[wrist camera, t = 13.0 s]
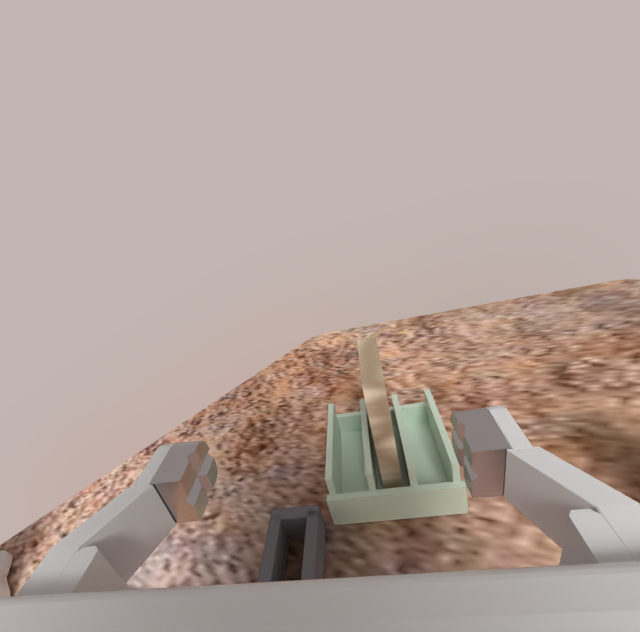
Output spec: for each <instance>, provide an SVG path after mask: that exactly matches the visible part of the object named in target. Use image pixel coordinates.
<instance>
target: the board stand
mask: <svg viewBox="0 0 640 632" xmlns="http://www.w3.org/2000/svg"><path fill="white" fill-rule="evenodd" d="M325 538H326V525H325V522H324V519H323V516H322V513H321V510H320V507H319V505H313V506H303V507H293V508H283V509H273V510H272V512H271V517H270V522H269V528H268V533H267V538H266V543H265V548H264V553H263V558H262V563H261V568H260V573H259V578H258V583H259V582H277V581H284V577H285V570H286V563H287V555H288V548H289V540H298V539H305V543H304V553H303V564H302V574H301V580H312V579H324V564H325Z"/></svg>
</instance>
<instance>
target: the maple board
mask: <svg viewBox="0 0 640 632" xmlns="http://www.w3.org/2000/svg"><path fill="white" fill-rule="evenodd" d="M357 343H358V354H359V364H360V375H361V384H362V389H363V393H364V398H365V403H366V407H367V412H368V417H369V421H370V426H371V431H372V435H373V440H374V445H375V449H376V454H377V459H378V463H379V468H380V473H381V477H382V482H383V487H384V489H387V488H397V487H403V482H402V477H401V471H400V465H399V460H398V454H397V449H396V443H395V438H394V432H393V426H392V421H391V415H390V410H389V404H388V399H387V393H386V387H385V382H384V377H383V372H382V367H381V362H380V357H379V352H378V347H377V342H376V337H372V338H366V339H361V340H357Z"/></svg>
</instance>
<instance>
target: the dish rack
mask: <svg viewBox="0 0 640 632" xmlns="http://www.w3.org/2000/svg"><path fill="white" fill-rule="evenodd" d="M424 394H425V402H421V403H414V404H407V405H399V401H398V397H397V394H393V395H391V396H392V402H393V406H392V407H389V410H390V415H391V421H392V426H393V432H394V438H395V443H396V449H397V454H398V460H399V465H400V471H401V477H402V482H403V487H397V488H387V489H384V487H383V482H382V477H381V473H380V468H379V463H378V459H377V454H376V449H375V445H374V440H373V435H372V431H371V426H370V421H369V417H368V412H367V407H366V403H365V399H359V400H360V411H357V412H350V413H343V414H336V410H335V406H334V403H331V404H329V405H328V425H327V446H326V466H325V481H326V485H327V488H328V491H329V494H330V495H327V504H328V507H329V510H330V513H331V517H332V520H333V523H334V525H344V524H355V523H366V522H377V521H388V520H399V519H410V518H421V517H432V516H443V515H454V514H465V513H468V502H467V487H466V484H465V482H464V481H461V478H460V465H459V463H458V461H457V458H456V455H455V452H454V449H453V447H452V444H451V442H450V439H449V437H448V434H447V432H446V429H445V427H444V424H443V422H442V419H441V417H440V414H439V412H438V409H437V407H436V404H435V402H434V399H433V397H432V394H431V392H430V389H427V390H424Z"/></svg>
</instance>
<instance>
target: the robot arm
mask: <svg viewBox="0 0 640 632" xmlns="http://www.w3.org/2000/svg"><path fill="white" fill-rule="evenodd" d="M451 422H452V425H453V427H454V430H453V431H452V443H453V448H454V452H455V455H456V458H457V461H458V463H459V465H461V466H462V467H463V468H464V478H465V481H466V483H467V486H468V488H469V490H470V493H471V495H472V498H475V497H493V496H504V498H505V499H506V500H507V501H508V502H510V503H511V504H512V505H513V506H514V507H515V508H516V509H518V510H519V511H520V512H521V513H522V514H523V515H524V516H525V517H527V518H528V519H529V520H530V521H531V522H532V523H533V524H535V525H536V526H537V527H538V528H539V529H540V530H541V531H542V532H544V533H545V534H546V535H547V536H548V537H549V538H550V539H552V540H553V541H554V542H555V543H556V544H557V545H558V546H559V547H561V548H562V554H561V559H560V564H559V566H541V567H523V568H505V569H488V570H470V571H452V572H435V573H417V574H400V575H382V576H365V577H347V578H330V579H312V580H294V581H277V582H259V583H241V584H223V585H206V586H188V587H170V588H152V589H134V590H131V589H130V587H129V586H128V585H127V584H126V582H127V581H128V580H129V579H130V577H131V576H132V575H133V574H134V573H135V572H136V571H137V569H138V568H139V567H140V566H141V565H142V564H143V562H144V561H145V560H146V559H147V558H148V557H149V555H150V554H151V553H152V552H153V551H154V550H155V549H156V547H157V546H158V545H159V544H160V543H161V542H162V540H163V539H164V538H165V537H166V536H167V535H168V533H169V532H170V531H171V530H172V529H173V528H174V527H175V525H176V523H180V522H189V521H198V520H201V519H202V516H203V514H204V511H205V508H206V506H207V503H208V497H207V493H208V492H209V491H210V490H211V489H212V488H213V487H214V484H215V482H216V476H217V467H216V463H215V460H214V458H213V457H211V456H210V455H208V454H207V453H208V450H209V447H208V446H207V444H206V442H205V441H195V442H184V443H175V444H164V445H161V446H159V447H158V448H157V449H156V451H155V453H154V454H153V456H152V457H151V459H150V461H149V462H148V464H147V465H146V467H145V469H144V470H143V472H142V473H141V475H140V476H139V478H138V480H137V481H136V483H135V484H134V486H133V487H128V488H127V489H126V490H124V491H123V492H122V493H121V494H119V495H118V496H117V497H116V498H114V499H113V500H112V501H110V502H109V503H108V504H107V505H105V506H104V507H103V508H102V509H100V510H99V511H98V512H97V513H95V514H94V515H93V516H91V517H90V518H89V519H88V520H86V521H85V522H84V523H83V524H81V525H80V526H79V527H77V528H76V529H75V530H74V531H72V532H71V533H70V534H69V535H67V536H66V537H65V538H63V539H62V540H61V541H60V542H58V543H57V544H56V545H55V546H53V547H52V548H51V549H50V551H49V552H48V553H47V555H46V556H45V557H44V559H43V560H42V561H41V563H40V564H39V566H38V567H37V568H36V570H35V571H34V572H33V574H32V575H31V576H30V578H29V579H28V580H27V582H26V583H25V585H24V586H23V587H22V589H21V590H20V591H19V593H18V594H17V595H16V596H10V589H9V586H8V583H7V575H8V572H9V569H10V567H11V563H12V559H13V556H12V555H11V554H10V553H8V552H7V551H5V550H1V551H0V632H640V503H638V502H636V501H634V500H633V499H631V498H629V497H627V496H626V495H624V494H622V493H620V492H619V491H617V490H615V489H613V488H611V487H610V486H608V485H606V484H604V483H603V482H601V481H599V480H597V479H596V478H594V477H592V476H590V475H588V474H587V473H585V472H583V471H581V470H580V469H578V468H576V467H574V466H573V465H571V464H569V463H567V462H565V461H564V460H562V459H560V458H558V457H557V456H555V455H553V454H551V453H550V452H548V451H546V450H544V449H542V448H541V447H539V446H537V447H533V446H532V444H531V443H530V442H529V440H528V439H527V437H526V436H525V434H524V433H523V431H522V430H521V429H520V427H519V426H518V424H517V423H516V421H515V420H514V418H513V417H512V416H511V414H510V413H509V411H508V410H507V408H506V407H504V406H503V405H502V406H494V407H486V408H479V409H471V410H463V411H455V412H452V413H451Z"/></svg>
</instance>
